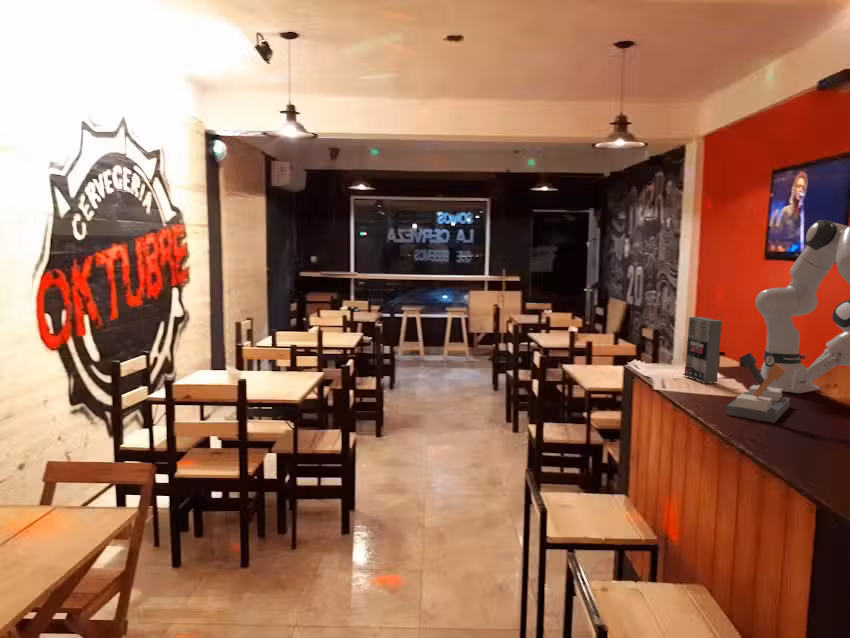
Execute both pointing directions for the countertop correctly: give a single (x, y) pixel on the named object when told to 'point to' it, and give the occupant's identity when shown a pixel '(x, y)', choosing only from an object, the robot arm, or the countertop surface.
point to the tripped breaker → (770, 378)
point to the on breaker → (752, 367)
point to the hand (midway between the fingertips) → (801, 379)
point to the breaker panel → (760, 414)
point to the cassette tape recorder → (703, 349)
